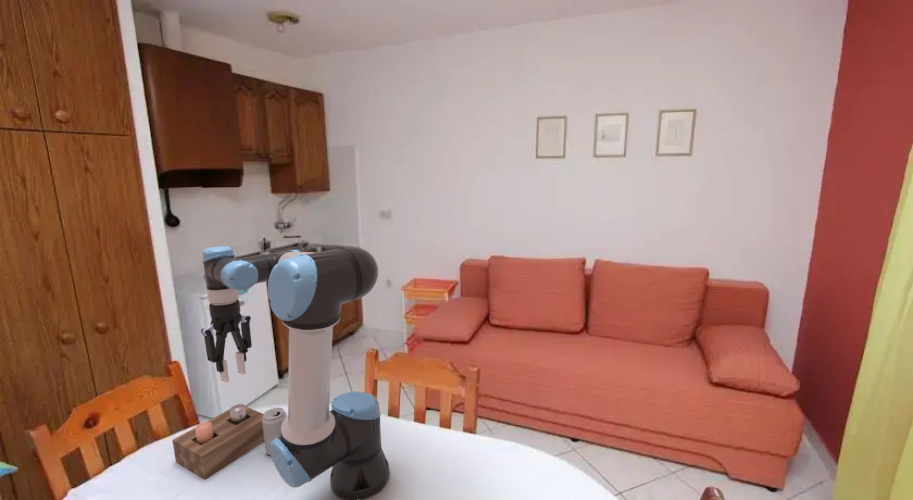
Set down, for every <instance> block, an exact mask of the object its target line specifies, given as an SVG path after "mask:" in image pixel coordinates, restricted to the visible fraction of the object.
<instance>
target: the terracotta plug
mask: <svg viewBox="0 0 913 500" xmlns="http://www.w3.org/2000/svg"><path fill="white" fill-rule="evenodd" d="M194 428H195V431H196V438H197V443H198V444H200V445H203V444H205V443H206V442H208V441H210V440H212V439H213V438H214V435H213V428H212V423H211V422H207V421H205V422H203V421H202V422H201V423H199V424H197V425H196V426H195V427H194Z"/></svg>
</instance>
